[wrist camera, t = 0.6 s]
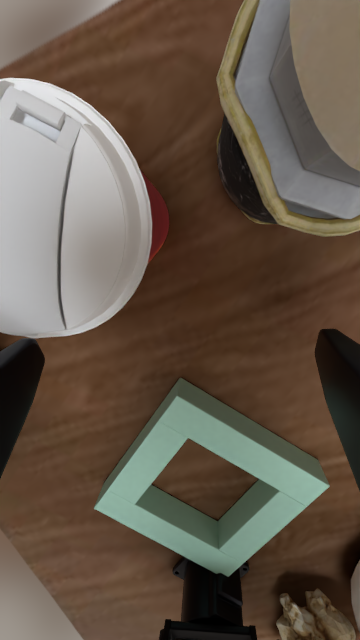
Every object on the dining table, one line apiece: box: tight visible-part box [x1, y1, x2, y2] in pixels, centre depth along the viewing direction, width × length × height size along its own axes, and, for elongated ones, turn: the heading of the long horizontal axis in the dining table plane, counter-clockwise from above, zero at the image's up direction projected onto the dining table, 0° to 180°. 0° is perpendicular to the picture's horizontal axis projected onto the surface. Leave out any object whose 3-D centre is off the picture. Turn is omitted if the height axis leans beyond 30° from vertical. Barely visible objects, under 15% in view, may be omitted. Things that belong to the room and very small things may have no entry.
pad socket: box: [94, 378, 330, 577], centre depth 29 cm, size 16×16×3 cm
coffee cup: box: [0, 78, 169, 338], centre depth 16 cm, size 8×8×15 cm
